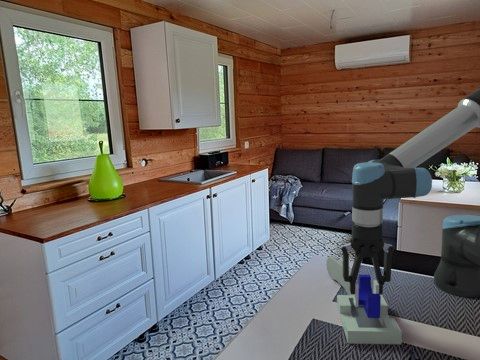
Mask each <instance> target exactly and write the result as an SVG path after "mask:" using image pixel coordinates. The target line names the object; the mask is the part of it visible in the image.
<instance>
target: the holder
mask: <svg viewBox="0 0 480 360" xmlns="http://www.w3.org/2000/svg"><path fill="white" fill-rule="evenodd" d="M336 295H337V296H336V306H337V309H338V314H339V317H340V320H341V325H342V329H343V331H344V334H345V337H346V342H347V344H356V345H357V344H359V345H360V344H361V345H362V344H363V345H365V344H366V345H368V344H369V345H370V344H371V345H402V337H403V336H402V335H403V332H402V330H401V328H400V326H399V323H398V322H397V320H396V318H394V317H391V318H390V316H389V311H388V310H389V306H388V303H387V302H386V300H385V298H384V296H383V294H380V296H381V304H380V318H368V317H367V314H366V312H365V309H364V307H363V305H358V307H355V304H354V302H353V300H354V295H348V294H336Z"/></svg>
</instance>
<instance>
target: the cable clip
mask: <svg viewBox="0 0 480 360" xmlns="http://www.w3.org/2000/svg"><path fill="white" fill-rule="evenodd" d="M358 278H359V295H358V305H363V307H364V309H365V312H366V314H367V317H368V318H380V304H381V296H380V295H381V294H373V291H372V290H373V287H372V277H371V275H370V274H358ZM353 295H354V294H353Z"/></svg>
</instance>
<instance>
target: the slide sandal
mask: <svg viewBox="0 0 480 360" xmlns="http://www.w3.org/2000/svg"><path fill="white" fill-rule="evenodd" d="M325 265H326V271H327V273H328V276H329V277H330V279H331V280H333V281H336V282H337V283H338V284H340V286H342V288H343V289H344V290H345V292H346V295H353V294H351V292H350V282H345V281H344V278H343V260H342V259H340V258H339V257H337V256H336V255H334V254H333V255H332V254H331V255H330V256H328V257H327V259H326V264H325ZM351 270H352V268H351V267H350V266H349V276H350V274H351ZM357 282H358V284H359V275H358V276H357Z"/></svg>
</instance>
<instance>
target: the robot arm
mask: <svg viewBox="0 0 480 360" xmlns="http://www.w3.org/2000/svg"><path fill="white" fill-rule="evenodd" d="M475 128H480V87H479V88H477V89H475V90H474V91H473V92H471V93H470V94H468V95H467V96H465V97H463V99H461V100H460V101H459V102H458V104H457V107H455V108H454V109H453V110H451V111H450V112H448V113H447V114H445V115H444V116H442V117H441V118H440V119H438V120H436V121H435V122H433V123H432V124H431V125H429V126H428V127H426V128H425V129H423V130H422V131H421V132H419V133H417V134H416V135H414V136H413V137H412V138H410V139H409V140H407V141H406V142H404V143H403V144H401V145H399V146H398V147H397V148H395V149H393V150H392V151H391V152H389V153H388V154H387V155H385V156H384V157H382V158H380V159H372V160H369V161H367V162H358V163H356V164H354V166H353V169H352V174H351V175H352V176H351V177H352V179H351V183H352V184H351V187H352V188H351V189H352V190H351V195H352V200H351V201H352V204H351V207H352V209H351V212H352V213H351V219H352V220H351V221H352V224H351V239H350V241H349V243H346V244H344V243H340V245H339V247H340V249H341V252H342V262H343V278H344V281H345V282H350V292H351V294H354V300H353V302H354V304H355V307H358V295H359V284H358V282H357V276H358V277H359V272H360V268H361V266H362V265H361V264H362V262H363V260H364V258H369V259H370V258H371V261H372V265H373V269H374V274H375V278H376V279H373V285H372V286H373V287H372V290H373V291H372V294H380V295H383V293H384V292H383V291H384V285H385V283H386V282H387V283H390V282H391V280H392V263H393V262H392V261H393V260H392V256H393V253H394V251H395V247H394V246H393V245H392V243H386V242H384V240H383V234H384V233H383V232H384V231H383V230H384V228H383V227H384V226H383V222H384V200H393V199H397V200H398V199H411V198H413V199H415V198H419V197H424V196H427V195H429V194H430V192H431V190H432V189H433V178H432V175H431V173H430V171H429V170H428V169H426V168H424V167H418V166H419V165H421V164H423V163H425V161H427V160H428V159H431V157H433V156H435V155H436V154H437V153H439V152H441V150H443V149H445V148H446V147H448V146H449V145H451V144H452V143H454V142H455V141H457V140H459V139H460V138H461V137H463V136H465V135H466V134H467V133H469V132H471V131H472V130H473V129H475ZM442 222H443V223H442V228H441V230H442V232H441V257H440V261H439V263H438V265H437V268H436V270H435V272H434V274H433V283H434V285H435V286H436V287H437V288H439V289H440V290H441V291H443V292H446V293H448V294H451V295H455V296H458V297H464V298H480V215H474V214H472V215H471V214H453V215H448V216H446V217H445V218H444V219H443V221H442ZM351 249H353V251H354V252H355V253H354V260H353V264H352V266H351V267H352V268H351V269H352V270H351V274H350V276H349V267H350V262H349V261H350V256H349V253H350V252H351ZM382 249H383V251H384V252H383V272H382V269H381V266H380V262H379V260H380V259H379V256H378V254H379V253H380V251H381V250H382Z"/></svg>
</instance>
